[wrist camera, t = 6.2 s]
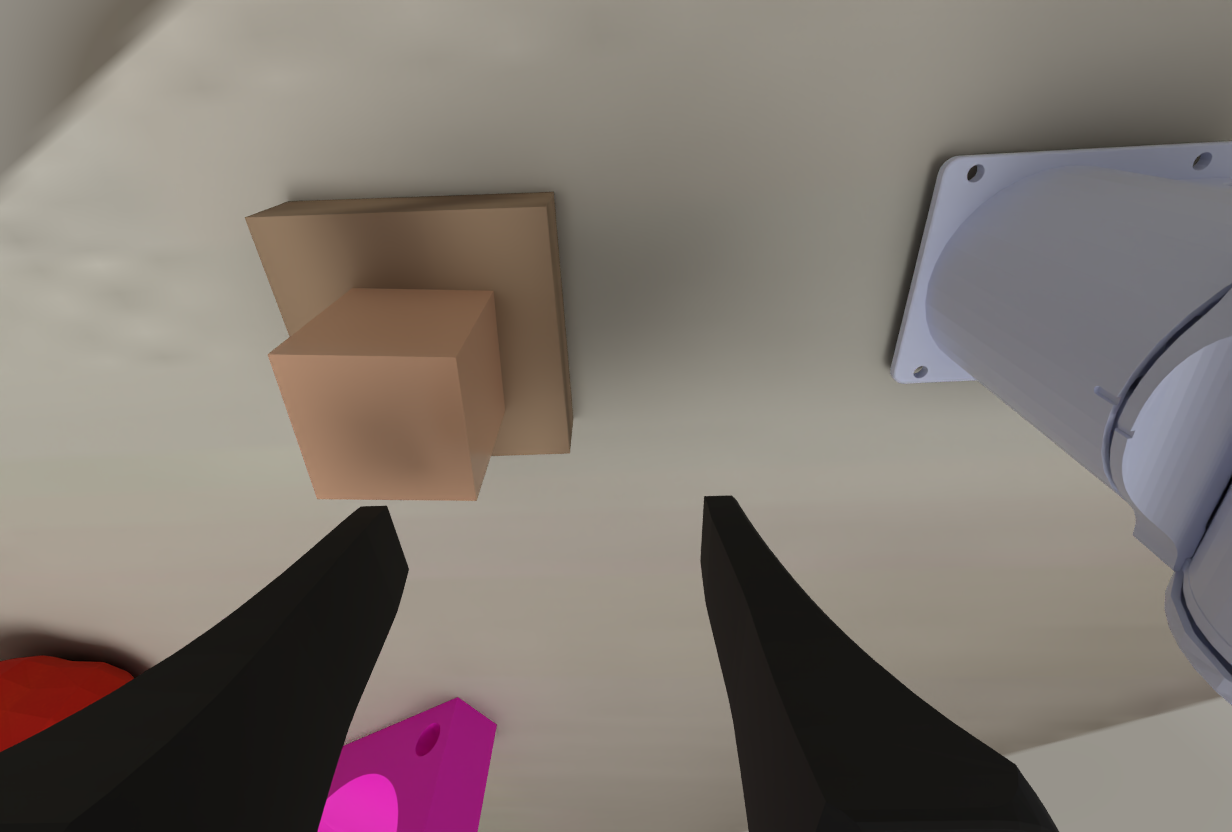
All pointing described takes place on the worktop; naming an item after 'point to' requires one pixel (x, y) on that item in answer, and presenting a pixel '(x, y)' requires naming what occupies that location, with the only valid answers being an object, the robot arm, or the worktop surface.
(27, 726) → the tomato
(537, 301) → the walnut block
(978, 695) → the worktop surface
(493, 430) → the terracotta block
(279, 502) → the worktop surface
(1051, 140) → the worktop surface
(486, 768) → the toy block
